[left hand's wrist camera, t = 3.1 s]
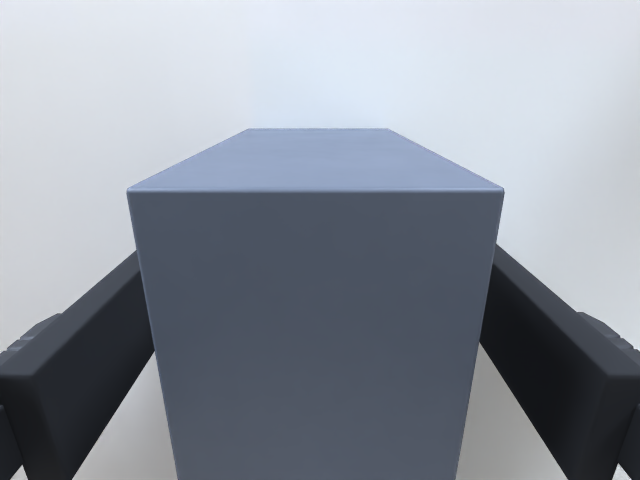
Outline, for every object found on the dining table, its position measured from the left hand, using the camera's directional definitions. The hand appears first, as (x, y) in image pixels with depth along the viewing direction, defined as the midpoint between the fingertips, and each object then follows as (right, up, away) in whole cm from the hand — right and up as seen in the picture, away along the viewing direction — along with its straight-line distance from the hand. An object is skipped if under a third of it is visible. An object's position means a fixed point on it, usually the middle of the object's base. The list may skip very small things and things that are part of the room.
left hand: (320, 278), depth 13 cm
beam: (0, -20, +9) cm, 22 cm away
